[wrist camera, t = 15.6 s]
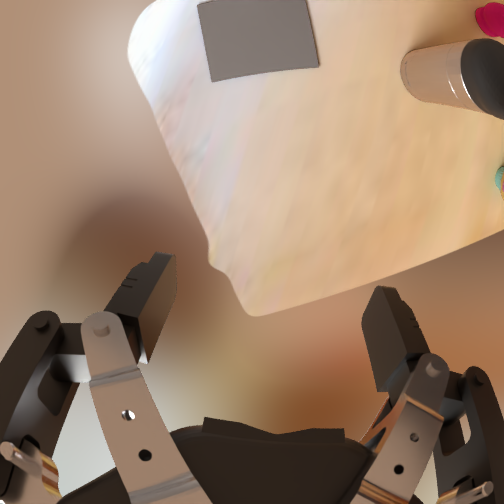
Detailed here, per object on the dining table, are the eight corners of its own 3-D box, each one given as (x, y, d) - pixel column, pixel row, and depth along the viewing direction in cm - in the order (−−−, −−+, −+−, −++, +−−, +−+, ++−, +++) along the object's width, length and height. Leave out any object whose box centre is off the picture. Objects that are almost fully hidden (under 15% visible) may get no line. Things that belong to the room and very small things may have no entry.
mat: (301, -11, 28) (302, -12, 28) (318, 67, 35) (318, 67, 35) (197, 6, 31) (196, 5, 30) (212, 82, 38) (211, 82, 37)
